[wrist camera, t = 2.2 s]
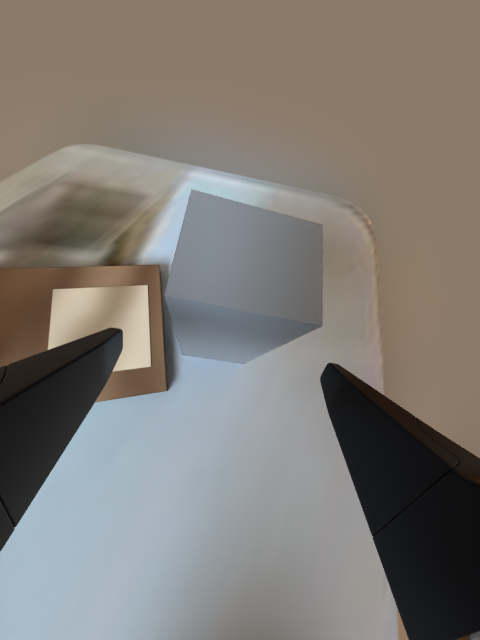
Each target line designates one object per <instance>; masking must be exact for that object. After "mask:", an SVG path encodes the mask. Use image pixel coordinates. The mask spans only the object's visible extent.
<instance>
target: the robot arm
mask: <svg viewBox="0 0 480 640" xmlns="http://www.w3.org/2000/svg"><path fill="white" fill-rule="evenodd" d="M122 349H123V331H122V329H119V328H112V327H111V328H108V329H105V330H102V331H99V332H96V333H94V334H91V335H88V336H85V337H83V338H80V339H77V340H74V341H71V342H69V343H66V344H63V345H60V346H58V347H55V348H52V349H49V350H46V351H44V352H41V353H38V354H35V355H33V356H30V357H27V358H24V359H21V360H19V361H16V362H13V363H10V364H8V366H7V365H5V366H2V367H0V551H1V550H2V548H3V547H4V545H5V544H6V542H7V540H8V539H9V537H10V536H11V534H12V532H13V531H14V529H15V528H14V527H16V526H17V524H18V523H19V521H20V520H21V518H22V516H23V515H24V513H25V512H26V510H27V508H28V507H29V505H30V504H31V502H32V501H33V499H34V497H35V496H36V494H37V493H38V491H39V490H40V488H41V486H42V485H43V483H44V482H45V480H46V479H47V477H48V475H49V474H50V472H51V471H52V469H53V467H54V466H55V464H56V463H57V461H58V460H59V458H60V456H61V455H62V453H63V452H64V450H65V449H66V447H67V445H68V444H69V442H70V441H71V439H72V437H73V436H74V434H75V433H76V431H77V430H78V428H79V426H80V425H81V423H82V422H83V420H84V419H85V417H86V415H87V414H88V412H89V411H90V409H91V408H92V406H93V404H94V403H95V401H96V400H97V398H98V396H99V395H100V393H101V392H102V390H103V389H104V387H105V385H106V383H107V381H108V379H109V377H110V375H111V373H112V371H113V369H114V367H115V365H116V363H117V361H118V359H119V356H120V354H121V352H122ZM320 381H321V386H322V390H323V394H324V398H325V402H326V406H327V410H328V413H329V416H330V419H331V422H332V424H333V427H334V430H335V433H336V436H337V438H338V441H339V444H340V447H341V450H342V453H343V455H344V458H345V461H346V464H347V467H348V469H349V472H350V475H351V478H352V481H353V483H354V486H355V489H356V492H357V495H358V497H359V500H360V503H361V506H362V509H363V512H364V514H365V517H366V520H367V523H368V526H369V528H370V531H371V534H372V536H373V540H374V543H375V546H376V549H377V551H378V554H379V557H380V560H381V563H382V565H383V568H384V571H385V574H386V577H387V580H388V582H389V585H390V588H391V591H392V594H393V596H394V599H395V602H396V605H397V608H398V611H399V613H400V616H401V619H402V622H403V625H404V627H405V630H406V633H407V636H408V638H409V640H480V458H478V457H477V456H475V455H474V454H472V453H470V452H469V451H467V450H465V449H464V448H462V447H461V446H459V445H458V444H456V443H455V442H453V441H451V440H450V439H448V438H447V437H445V436H444V435H442V434H440V433H439V432H437V431H436V430H434V429H433V428H431V427H430V426H428V425H427V424H425V423H424V422H422V421H421V420H420V419H418V418H415V416H413V415H412V414H410V413H409V412H408V411H406V410H405V409H403V408H402V407H400V406H399V405H397V404H396V403H394V402H393V401H391V400H390V399H388V398H387V397H385V396H384V395H383V394H381V393H380V392H378V391H377V390H375V389H374V388H372V387H371V386H369V385H368V384H366V383H365V382H363V381H362V380H360V379H359V378H357V377H356V376H354V375H353V374H352V373H350V372H349V371H347V370H346V369H344V368H343V367H341V366H340V365H338V364H334V363H328V364H327V365H326V367H325V369H324V371H323V373H322V375H321V378H320Z"/></svg>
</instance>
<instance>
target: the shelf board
mask: <svg viewBox="0 0 480 640" xmlns="http://www.w3.org/2000/svg"><path fill="white" fill-rule="evenodd" d="M111 327H112V328H119V329H122V331H123V349H122V352H121V354H120V356H119V359H118V361H117V363H116V365H115V367H114V369H113V371H112V373H111V375H110V377H109V379H108V381H107V383H106V385H105V387H104V389H103V390H102V392H101V393H100V395H99V396H98V398H97V400H96V401H95V402H99V401H106V400H112V399H119V398H125V397H131V396H138V395H144V394H150V393H157V392H163V391H168V387H167V370H166V354H165V337H164V321H163V304H162V288H161V271H160V268H159V265H137V266H98V267H58V268H18V269H0V367H2V366H5V365H7V366H8V364H10V363H13V362H16V361H19V360H21V359H24V358H27V357H30V356H33V355H35V354H38V353H41V352H44V351H46V350H49V349H52V348H55V347H58V346H60V345H63V344H66V343H69V342H71V341H74V340H77V339H80V338H83V337H85V336H88V335H91V334H94V333H96V332H99V331H102V330H105V329H108V328H111Z"/></svg>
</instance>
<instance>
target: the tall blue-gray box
mask: <svg viewBox="0 0 480 640" xmlns="http://www.w3.org/2000/svg"><path fill="white" fill-rule="evenodd" d="M164 297H165V300H166V303H167V307H168V310H169V313H170V316H171V320H172V323H173V326H174V330H175V333H176V336H177V339H178V343H179V346H180V349H181V353H182V355H188V356H194V357H201V358H208V359H214V360H221V361H227V362H234V363H240V364H244V363H246V362H248V361H250V360H252V359H254V358H256V357H258V356H261V355H263V354H265V353H267V352H269V351H271V350H273V349H275V348H277V347H279V346H281V345H283V344H286V343H288V342H290V341H292V340H294V339H296V338H298V337H300V336H302V335H304V334H306V333H308V332H310V331H313V330H315V329H317V328H319V327H321V326H322V225H321V224H317V223H313V222H310V221H306V220H302V219H299V218H295V217H291V216H287V215H284V214H280V213H276V212H273V211H269V210H265V209H262V208H258V207H254V206H251V205H247V204H243V203H240V202H236V201H232V200H229V199H225V198H221V197H217V196H214V195H210V194H206V193H203V192H199V191H195V190H192V189H191V193H190V197H189V201H188V205H187V209H186V213H185V217H184V220H183V224H182V228H181V232H180V236H179V240H178V244H177V248H176V251H175V255H174V259H173V263H172V267H171V271H170V275H169V278H168V282H167V286H166V290H165V294H164Z"/></svg>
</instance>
